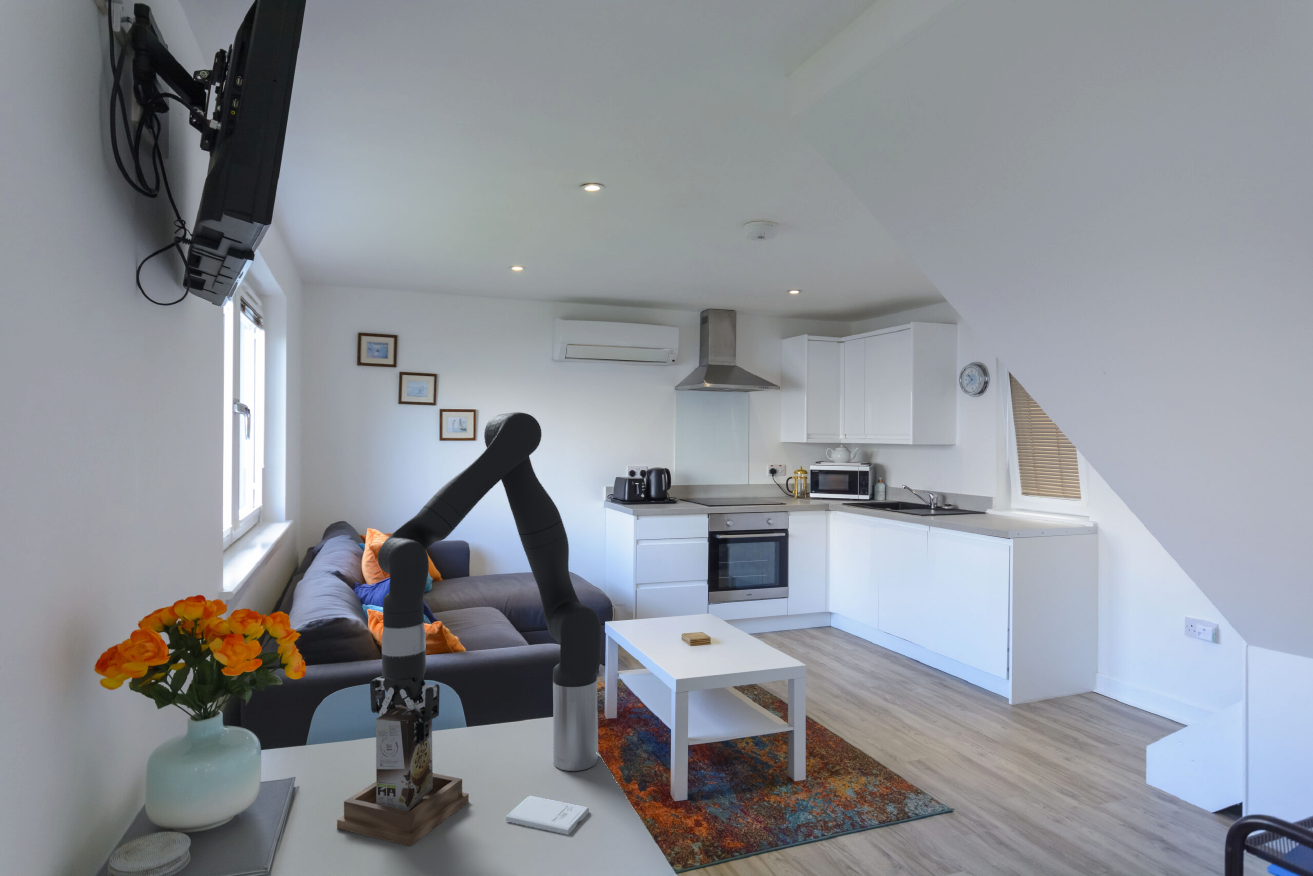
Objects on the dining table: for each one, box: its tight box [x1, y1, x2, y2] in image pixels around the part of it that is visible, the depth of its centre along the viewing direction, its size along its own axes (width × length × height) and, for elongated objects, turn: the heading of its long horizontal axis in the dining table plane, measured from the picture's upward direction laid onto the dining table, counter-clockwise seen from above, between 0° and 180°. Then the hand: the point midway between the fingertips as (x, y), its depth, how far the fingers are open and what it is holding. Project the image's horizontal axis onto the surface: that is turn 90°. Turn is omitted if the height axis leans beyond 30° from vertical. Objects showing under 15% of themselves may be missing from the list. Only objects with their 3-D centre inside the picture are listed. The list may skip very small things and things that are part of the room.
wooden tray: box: [336, 772, 470, 847], centre depth 133 cm, size 16×16×4 cm
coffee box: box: [375, 701, 434, 811], centre depth 133 cm, size 9×6×16 cm
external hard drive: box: [505, 795, 590, 836], centre depth 132 cm, size 2×8×12 cm
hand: (405, 739), depth 133 cm, fingers closed on coffee box, 7 cm apart
